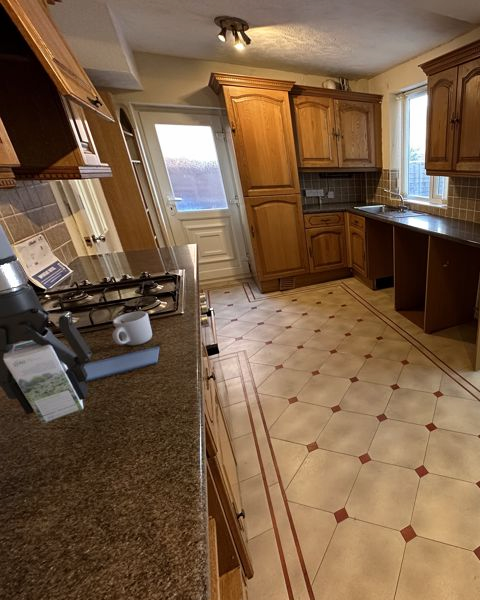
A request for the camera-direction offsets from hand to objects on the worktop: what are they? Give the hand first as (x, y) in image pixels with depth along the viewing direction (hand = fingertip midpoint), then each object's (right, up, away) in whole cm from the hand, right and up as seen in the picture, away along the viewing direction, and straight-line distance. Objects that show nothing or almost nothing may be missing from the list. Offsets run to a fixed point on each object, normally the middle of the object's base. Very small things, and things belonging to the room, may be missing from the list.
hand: (59, 401), depth 61 cm
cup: (-13, +6, +33) cm, 36 cm away
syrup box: (0, -2, +1) cm, 2 cm away
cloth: (-9, +2, +24) cm, 25 cm away
